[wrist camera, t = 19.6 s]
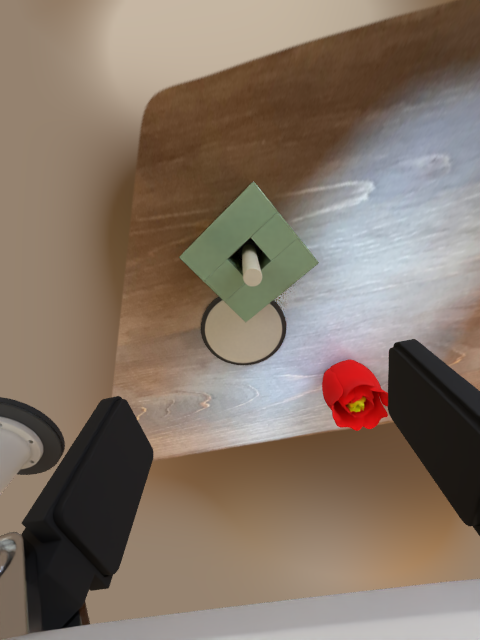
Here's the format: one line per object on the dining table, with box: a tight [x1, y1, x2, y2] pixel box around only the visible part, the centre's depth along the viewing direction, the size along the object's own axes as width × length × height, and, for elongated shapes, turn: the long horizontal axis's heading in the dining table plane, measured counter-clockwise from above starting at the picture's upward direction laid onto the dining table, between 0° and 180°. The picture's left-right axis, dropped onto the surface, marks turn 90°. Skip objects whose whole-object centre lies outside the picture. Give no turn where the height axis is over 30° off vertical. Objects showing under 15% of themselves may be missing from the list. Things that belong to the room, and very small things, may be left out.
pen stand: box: [179, 182, 319, 322], centre depth 30 cm, size 10×10×6 cm
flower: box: [322, 360, 388, 431], centre depth 38 cm, size 8×8×8 cm
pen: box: [239, 238, 262, 286], centre depth 27 cm, size 2×2×12 cm
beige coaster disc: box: [201, 297, 286, 365], centre depth 37 cm, size 12×12×1 cm
